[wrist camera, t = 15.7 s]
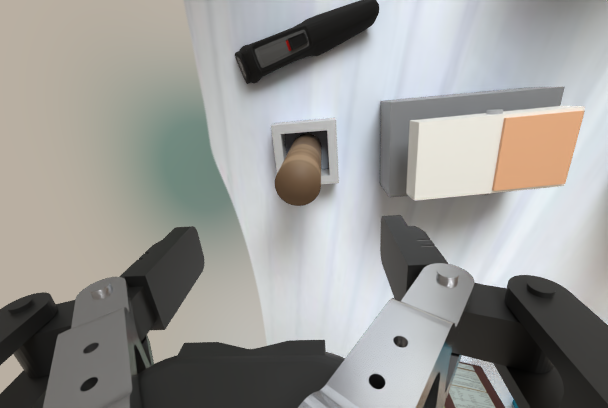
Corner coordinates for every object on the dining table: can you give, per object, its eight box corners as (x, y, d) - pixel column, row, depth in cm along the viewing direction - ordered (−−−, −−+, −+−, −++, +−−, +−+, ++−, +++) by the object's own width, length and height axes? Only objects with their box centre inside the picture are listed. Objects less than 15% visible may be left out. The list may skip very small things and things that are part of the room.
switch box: (380, 100, 32) (396, 103, 26) (527, 87, 31) (582, 86, 24) (380, 183, 36) (393, 203, 29) (511, 174, 35) (555, 193, 28)
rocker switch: (409, 117, 25) (420, 118, 23) (564, 102, 25) (588, 102, 23) (406, 196, 28) (415, 204, 26) (544, 182, 28) (565, 189, 26)
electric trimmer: (377, 33, 30) (384, 27, 27) (248, 86, 33) (241, 86, 30) (368, -6, 29) (374, -17, 26) (234, 53, 32) (226, 48, 29)
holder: (274, 122, 34) (270, 125, 31) (334, 117, 33) (335, 120, 30) (281, 179, 36) (278, 187, 34) (337, 176, 36) (338, 183, 33)
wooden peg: (290, 134, 34) (271, 163, 21) (320, 132, 34) (319, 160, 21) (294, 163, 36) (277, 206, 23) (322, 161, 35) (322, 204, 22)
